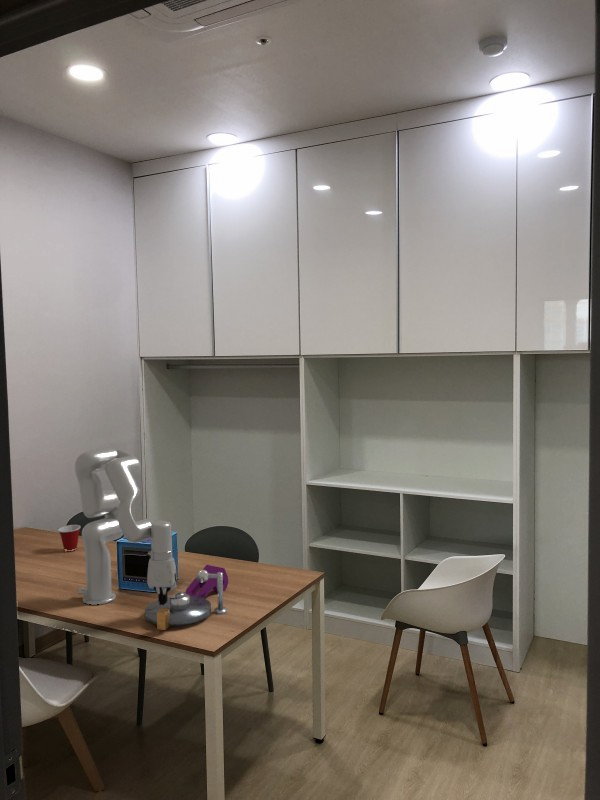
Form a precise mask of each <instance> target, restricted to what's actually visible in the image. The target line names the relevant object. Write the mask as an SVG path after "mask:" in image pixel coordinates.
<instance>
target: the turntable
mask: <svg viewBox="0 0 600 800" xmlns="http://www.w3.org/2000/svg"><path fill="white" fill-rule="evenodd" d="M170 597H171V596H168V601H167V603H166V604H164V605H159V601H158V599H157V600H154V601H153V602H151V603H149V604H148V605H147V606H146V607H145V609H144V618H145V620H146V621H148V622H150V623H152V624H153V625H156V627H157V628H156V629H157V630H161V631H166V630H167V629H169V627H177V626H184V625H191V624H194V623H198V622H200V621H202V620H205V619H206V618H207V617H209V616H210V614H211V612H212V603H211V601H210V600H208V599H206V598H201V597H197V596H189V599H190V607H189V608H188V609H187V610H184V611H173V610H171V609H170Z"/></svg>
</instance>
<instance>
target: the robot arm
mask: <svg viewBox="0 0 600 800" xmlns="http://www.w3.org/2000/svg"><path fill="white" fill-rule="evenodd" d="M99 471H101V472H102V471H105V474H106V476H107V478H108V480H109V482H110V484H111V487H112V488H113V490H111V489H106V490H103V482H102V480H101V479H100V477H99V475H98V474H97V472H99ZM141 471H142V465H141V462H140V460H139V459H138V458H137V457H136V456H135V455H133V454H131V453H129V452H126V451H123V450H121V449H119V448H117V447H106V448H100V449H98V448H97V449H94V450H93V449H92V450H87V451H85V452H83V453H81V454H79V455H78V456H77V457H76V460H75V462H74V472H75V477H76V478H77V482H78V487H79V494H80V501H81V508H82V512H83V515H84V516H85V517H86V518H88V519H94V518H99V517H102V516H104V518H100V519H97V520H94V521H91V522H88V523H87V524H86V525H85V526H84V527H83V528H82V530H81V539H82V543H83V548H84V557H85V560H84V561H85V585H86V586H85V587H79V588H78V591H77V593H78V595H83V597H82V603H84V604H85V603H86V604H85V605H89V604H91V605H90V606H97V604H99V605H105V604H108V603H111V602H113V601H114V600H115V599H116V593H115V592H113V591H112V565H111V564H112V563H111V553H110V549H108V547H107V545H106V544H108V543H110V542H113V541H115V540H118V539H120V538H122V536H124V537H125V539H126V540H127V541H128V542H129V543H131V544H137V543H141V542H144V541H147V540H150V545H151V546H150V551H147V555H148V556H150V558H149V560H148V567H147V574H146V577H147V580H146V582H147V583H146V584H147V585H148V588H149V589H153V590H154V592H156V594H157V596H158V599H157V600H158V601H159V605H164V604H166V603H167V601H168V597H169V596H168V593H169V592H170V591H173V590H176V589H177V587H178V586H177V581H178V576H177V567H176V562H175V558H174V557H173V537H172V536H173V533H172V524H171V522H170V521H167V520H159V519H158V518H155V517H148V518H145V519H140V520H137V521H136V520H135V518H134V517H133V513H132V511H131V510H132V509H131V508H132V504H133V502H134V501H135V500H136V499H137V498H138V497H139V496H140V494H141V489H140V487H139V486H138V483H137V481H136V479H135V478H136V477H137V476H138V475H140V474H141Z"/></svg>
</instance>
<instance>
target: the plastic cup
mask: <svg viewBox="0 0 600 800" xmlns="http://www.w3.org/2000/svg"><path fill="white" fill-rule="evenodd" d="M80 530H81V525H79V524H70V525H65V526H61V527H60V528H58V530H57V531H58V532H59V534H60V535H59V536H60V538H61V542H62V546H63V550H64V549H67V550H72V549H75V548H77V549H78V543H79V535H80Z"/></svg>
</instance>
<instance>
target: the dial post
mask: <svg viewBox="0 0 600 800" xmlns="http://www.w3.org/2000/svg"><path fill="white" fill-rule="evenodd" d="M195 578H197V580H198V581H199V582H201V583H204V582H206V581H207V580H208V578H217V586H218V592H217V607H215V608H214V609H213V612H214V614H216V615H223V614H226V613H228V608H227V607H226V606H224V591H223V573H222V572H218V573H217V574H208V572H207V571H206V570H203V569H201V570H199V571H198V572H197V573H196V577H195Z"/></svg>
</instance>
